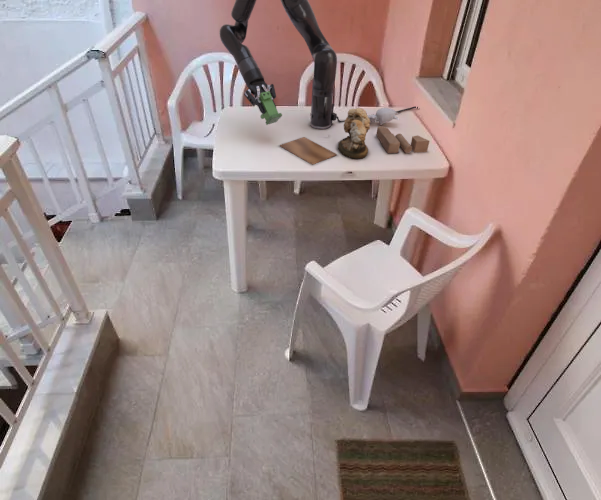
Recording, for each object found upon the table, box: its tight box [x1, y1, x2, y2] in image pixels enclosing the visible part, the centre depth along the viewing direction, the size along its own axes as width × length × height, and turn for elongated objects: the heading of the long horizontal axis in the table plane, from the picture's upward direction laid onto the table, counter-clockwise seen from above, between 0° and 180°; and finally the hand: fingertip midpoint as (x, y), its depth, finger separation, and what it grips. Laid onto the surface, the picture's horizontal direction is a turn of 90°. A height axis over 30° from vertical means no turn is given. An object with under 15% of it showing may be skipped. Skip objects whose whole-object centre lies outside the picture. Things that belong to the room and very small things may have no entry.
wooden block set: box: [375, 125, 430, 154], centre depth 173 cm, size 17×6×18 cm
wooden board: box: [279, 136, 337, 165], centre depth 167 cm, size 13×20×1 cm, turn 40°
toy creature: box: [367, 107, 401, 126], centre depth 188 cm, size 13×7×20 cm
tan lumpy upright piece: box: [337, 107, 371, 160], centre depth 164 cm, size 18×12×17 cm, turn 11°
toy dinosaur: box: [259, 91, 283, 126], centre depth 165 cm, size 11×5×12 cm, turn 40°
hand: (269, 111), depth 166 cm, fingers closed on toy dinosaur, 4 cm apart
